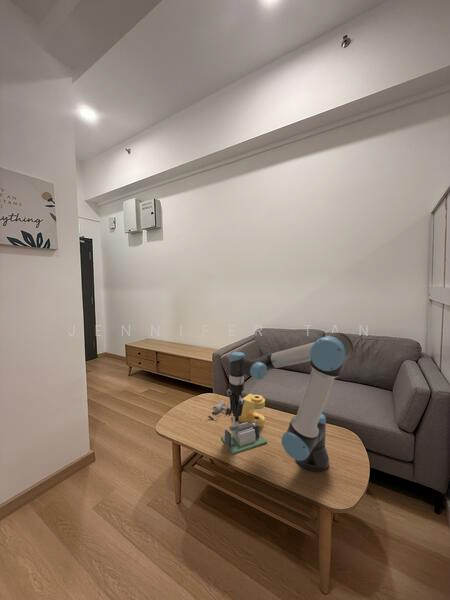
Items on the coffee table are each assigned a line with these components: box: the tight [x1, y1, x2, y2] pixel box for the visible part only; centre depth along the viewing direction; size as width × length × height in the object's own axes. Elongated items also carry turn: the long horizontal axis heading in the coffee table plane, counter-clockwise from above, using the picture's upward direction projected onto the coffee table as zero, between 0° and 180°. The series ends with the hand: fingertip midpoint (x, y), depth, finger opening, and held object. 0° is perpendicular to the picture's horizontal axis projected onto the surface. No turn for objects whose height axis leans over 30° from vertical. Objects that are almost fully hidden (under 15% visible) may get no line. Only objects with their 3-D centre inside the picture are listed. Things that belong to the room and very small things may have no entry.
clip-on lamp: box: [207, 399, 232, 421], centre depth 156 cm, size 12×6×18 cm
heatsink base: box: [220, 421, 268, 455], centre depth 130 cm, size 20×14×8 cm
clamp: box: [230, 393, 266, 428], centre depth 149 cm, size 20×9×16 cm, turn 53°
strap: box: [228, 421, 256, 432], centre depth 129 cm, size 15×4×1 cm, turn 115°
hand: (235, 426), depth 128 cm, fingers closed
